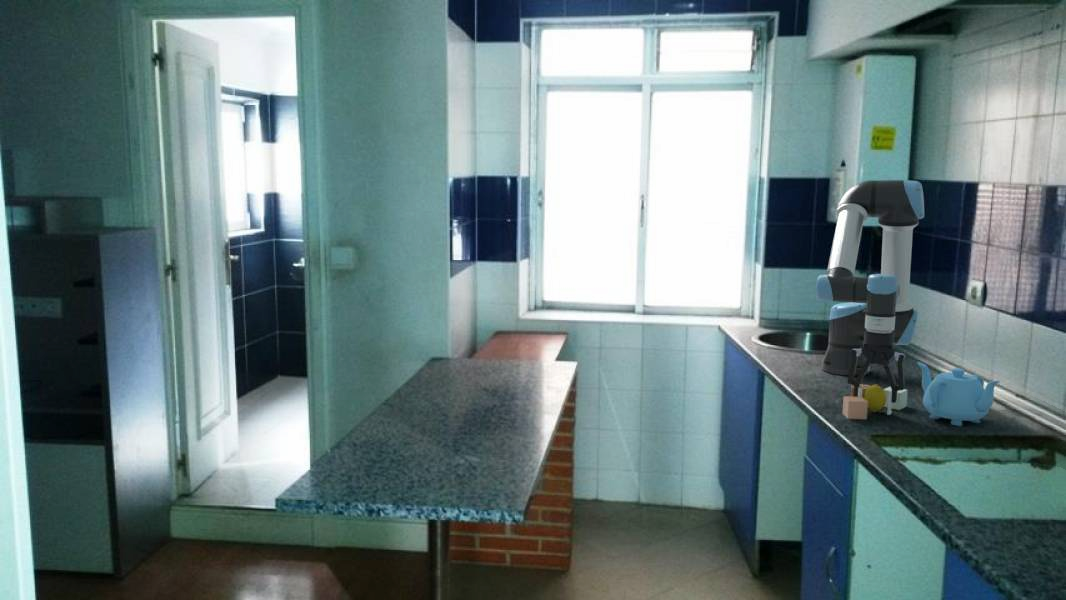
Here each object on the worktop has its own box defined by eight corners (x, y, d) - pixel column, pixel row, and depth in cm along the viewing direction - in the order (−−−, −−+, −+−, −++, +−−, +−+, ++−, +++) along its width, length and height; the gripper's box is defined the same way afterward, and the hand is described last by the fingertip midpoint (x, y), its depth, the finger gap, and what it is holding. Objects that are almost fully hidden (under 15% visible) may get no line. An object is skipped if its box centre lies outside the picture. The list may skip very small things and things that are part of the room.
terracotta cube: (842, 413, 221) (843, 396, 220) (861, 414, 220) (862, 396, 220) (847, 419, 216) (848, 401, 215) (866, 419, 215) (867, 401, 215)
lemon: (886, 415, 219) (888, 387, 218) (865, 414, 220) (867, 386, 219) (882, 409, 224) (884, 382, 223) (861, 408, 225) (863, 381, 224)
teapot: (995, 433, 204) (1000, 379, 202) (911, 422, 212) (915, 371, 210) (992, 416, 218) (996, 366, 216) (913, 407, 227) (917, 359, 225)
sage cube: (888, 403, 231) (889, 386, 230) (906, 406, 228) (907, 389, 227) (881, 406, 228) (882, 389, 227) (899, 410, 224) (900, 393, 223)
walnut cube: (850, 400, 235) (851, 383, 234) (868, 401, 233) (869, 385, 232) (850, 404, 230) (851, 387, 229) (869, 406, 228) (870, 389, 227)
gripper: (838, 329, 220) (833, 409, 224) (918, 336, 210) (911, 420, 213) (843, 325, 227) (838, 403, 230) (921, 332, 217) (915, 413, 220)
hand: (874, 411), depth 222 cm, fingers open, 7 cm apart
